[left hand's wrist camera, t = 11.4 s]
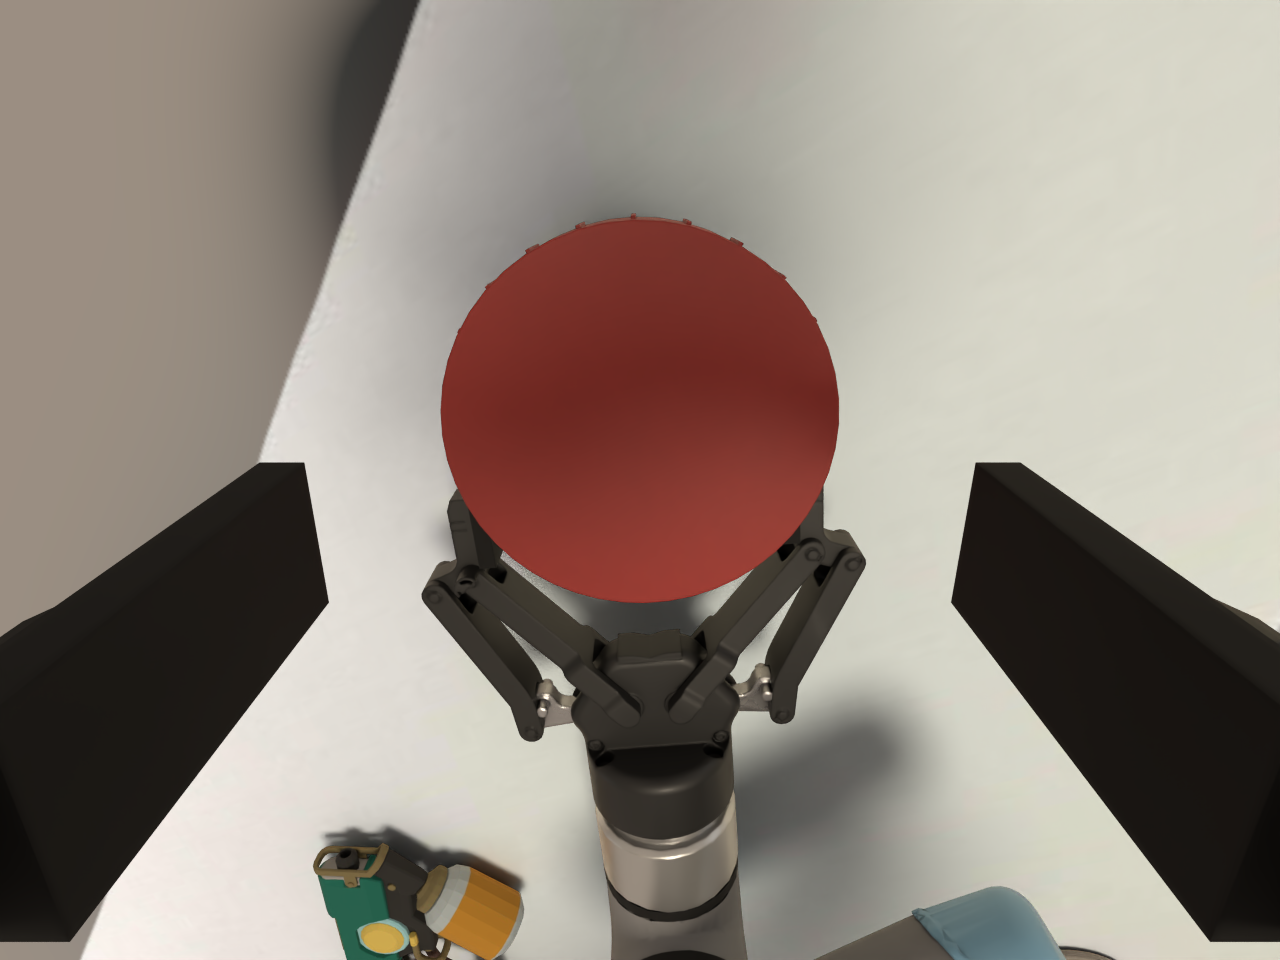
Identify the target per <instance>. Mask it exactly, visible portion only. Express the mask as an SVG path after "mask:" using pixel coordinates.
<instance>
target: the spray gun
mask: <svg viewBox="0 0 1280 960" xmlns="http://www.w3.org/2000/svg"><path fill="white" fill-rule="evenodd" d="M388 849H389V846H388V845H386V844H384V843H382V844H381V845H380V846H379V847H378V848H375V847H351V846H328V847H325V848H324V849H322V850H321V851H320V852H319V853H318V855H317V857H316V859H315V861H314V864H313V868H314V871H315V873H316V874H317V875H318V878H319V882H320V886H321V889H322V893H323V897H324V901H325V905H326V908H327V911H328V913H329V915H330V916H331V917H332V918H335V920H336V924H337V928H338V931H339V935H340V939H341V942H342V946H343V949H344V951H345V955H346V958H347V960H404V959H403V958H402V956H405V955H407V954H410V953H412V952H413V953H414V956H415V958H416V960H452V959H449V958H448V957H447V955H448V952H449V950H450V946H451V941H452V942H454V943H455V944H457V945H459V946H461V947H463V948H465V949H467V950H469V951H471V952H472V953H474V954H476V955H478V956H480V957H482V958H484V959H486V960H493V959H495V958H496V957H498V956H500V955H501V954H503V953H504V952H505V951H506V950H507V949H508V948H509V946H510V945H511V943H512V942H513V940H514V938H515V936H516V934H517V932H518V930H519V927H520V925H521V922H522V919H523V914H524V906H523V901H522V897H521V894H520V893H519V892H518V891H516V890H514V889H512V888H510V887H509V886H507V885H505V884H503V883H501V882H499V881H497V880H495V879H493V878H491V877H489V876H487V875H485V874H483V873H481V872H479V871H477V870H475V869H473V868H471V867H469V866H463V865H458V864H456V865H454V866H452V867H450V868H446V867H444V866H442V865H438V866H437V867H436V868H434V869H433V870H432V871H430V872H428V873H427V872H426V871H425V870H424V869H422V868H421V867H419V866H417V865H416V864H414V863H412V862H411V861H409V860H408V859H406V858H404V857H403V856H401V855H399V854H398V853H396V852H394V851H393V850H391V849H389V850H388ZM329 853H339V854H338V855H337V856H336V857H332V858H330V859H328V860H327V861H325V862H324V863H323V864H322V865H321V866H320V867H319V865H320V863H321V861H322V859H323V858H324V856H325V855H327V854H329ZM367 854H378V855H377V857H376V856H375V855H370V856H369V858H368V859H367ZM416 893H417V896H416ZM438 938H444V939H445V942H444V946H443V949H442V952H441V953H440V952H439V951H438V949H437V948H436V945H437V942H438ZM420 950H424V951H426V953H427V955H428V956H425V955H423V954H422V953H421V951H420Z"/></svg>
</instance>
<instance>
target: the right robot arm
mask: <svg viewBox="0 0 1280 960" xmlns="http://www.w3.org/2000/svg"><path fill="white" fill-rule="evenodd" d="M447 514H448V519H449V523H450V529H451V534H452V539H453V544H454V548H455V553H456V559H455V560H453V561H451V562H450V561H443V562H440V563H439V564H438V565H437V566H436V568H435V570H434V571H433V573H432V575H431V577H430V579H429V581H428V582H427V584H426V586H425V588H424V590H423V592H422V600H423V602H424V603H425V604H426V606H427V607H428V608H429V609H430V610H431V612H432V613H433V614H434V615H435V616H436V618H437V619H438V620H439V621H440V623H441V624H442V625H443V626H444V627H445V629H446V630H447V631H448V632H449V633H450V635H451V636H452V637H453V638H454V639H455V641H456V642H457V643H458V644H459V645H460V647H461V648H462V649H463V650H464V651H465V653H466V654H467V655H468V656H469V657H470V659H471V660H472V661H473V662H474V663H475V665H476V666H477V667H478V668H479V670H480V671H481V672H482V673H483V674H484V676H485V677H486V678H487V679H488V680H489V682H490V683H491V684H492V685H493V686H494V688H495V689H496V690H497V691H498V692H499V694H500V695H501V696H502V697H503V698H504V700H505V701H506V702H507V703H508V704H509V706H510V707H511V710H512V713H513V716H514V719H515V722H516V725H517V728H518V731H519V734H520V736H521V737H522V738H523V739H524V740H526V741H529V742H534V741H537V740H539V739H540V738H542V735H543V732H544V728H545V727H550V726H556V725H562V724H568V723H574V724H575V725H576V726H577V727H578V728H579V730H580V731H581V732H582V734H583V736H584V738H585V742H586V749H587V755H588V762H589V769H590V776H591V783H592V789H593V796H594V800H595V803H596V809H595V812H596V818H597V824H598V830H599V836H600V843H601V849H602V855H603V861H604V869H605V874H606V879H607V885H608V894H609V904H610V913H611V926H612V949H611V960H748V959H747V951H746V944H745V937H744V930H743V921H742V911H741V899H740V888H739V877H738V838H737V823H736V807H735V794H734V791H733V789H734V773H733V755H732V737H731V725H732V722H733V719H734V718H735V716H736V714H737V713H738V711H769V713H770V717H771V719H772V720H773V721H774V722H775V723H778V724H786V723H788V722H790V721H791V720H792V719H793V718H794V715H795V707H796V699H797V691H798V685H799V684H800V682H801V680H802V678H803V677H804V675H805V673H806V671H807V669H808V668H809V666H810V664H811V662H812V661H813V659H814V657H815V655H816V654H817V652H818V650H819V648H820V646H821V645H822V643H823V641H824V639H825V638H826V636H827V634H828V632H829V630H830V629H831V627H832V625H833V623H834V622H835V620H836V618H837V616H838V615H839V613H840V611H841V609H842V607H843V606H844V604H845V602H846V600H847V599H848V597H849V595H850V593H851V591H852V590H853V588H854V586H855V584H856V583H857V581H858V579H859V577H860V576H861V574H862V572H863V570H864V568H865V565H866V560H865V558H864V556H863V555H862V553H861V551H860V550H859V548H858V546H857V545H856V543H855V541H854V540H853V538H852V537H851V535H850V534H849V532H847V531H846V530H841V529H839V530H835V531H831V530H827V529H825V528H823V487H822V490H821V492H820V494H819V496H818V498H817V500H816V501H815V503H814V505H813V506H812V508H811V510H810V512H809V513H808V515H807V516H806V518H805V519H804V520H803V522H802V523H801V524H800V526H799V527H798V528H797V529H796V531H795V532H794V533H793V535H792V536H791V537H790V538H789V539H788V540H787V541H786V542H785V543H784V544H783V545H782V546H781V547H780V548H779V549H778V550H777V551H776V552H775V553H773V554H772V555H771V556H770V557H768V558H767V559H766V560H764V561H763V562H762V563H761V564H759V565H758V566H757V567H755V568H754V570H753V571H752V572H751V573H750V574H749V575H748V577H747V578H746V579H745V580H744V581H743V582H742V584H741V585H740V586H739V587H738V588H737V589H736V591H735V592H734V593H733V594H732V595H731V596H730V598H729V599H728V600H727V601H726V602H725V603H724V605H723V606H722V607H721V608H720V609H719V611H718V612H717V613H716V614H715V615H714V616H709V617H707V618H706V619H705V621H704V622H703V623H702V624H701V625H700V626H699V628H698V629H697V630H696V631H695V632H694V634H693V635H692V636H691V637H690V636H688V635H685V634H680V629H673V630H664V631H660V632H657V633H654V634H651V635H646V634H639V633H622V634H618V639H615V640H613V641H611V642H608V641H607V640H606V639H605V638H603V637H602V636H601V635H600V634H599V633H597V632H596V631H595V630H594V629H593V628H591V627H590V626H587V625H585V626H582V625H581V624H579V623H578V622H577V621H576V620H575V619H573V618H572V617H571V616H570V615H568V614H567V613H566V612H565V611H564V610H562V609H561V608H560V607H559V606H558V605H556V604H555V603H554V602H553V601H551V600H550V599H549V598H548V597H547V596H545V595H544V594H543V593H542V592H541V591H539V590H538V589H537V588H536V587H534V586H533V585H532V584H531V583H530V582H528V581H527V580H526V579H525V578H524V577H522V576H521V575H520V574H519V573H518V572H516V571H515V570H514V569H513V568H511V567H510V566H509V565H508V564H507V563H505V562H504V561H503V560H502V559H501V558H500V557H501V554H502V551H503V550H502V549H501V548H500V547H499V546H498V545H497V544H496V543H495V542H494V541H493V540H492V539H491V538H490V536H489V535H488V534H487V533H486V532H485V531H484V530H483V528H482V527H481V526H480V525H479V523H478V522H477V520H476V519H475V517H474V516H473V514H472V513H471V511H470V510H469V508H468V507H467V505H466V504H465V502H464V500H463V498H462V496H461V494H460V492H459V490H458V489H457V490H456V491H455V493H454V495H453V496H452V498H451V499H450V501H449V505H448V510H447ZM801 585H802V586H801ZM800 586H801V588H800V590H799V592H798V593H797V595H796V597H795V599H794V601H793V603H792V605H791V607H790V608H789V610H788V612H787V614H786V616H785V618H784V620H783V622H782V623H781V625H780V627H779V629H778V631H777V633H776V635H775V636H774V638H773V640H772V642H771V644H770V646H769V649H768V652H767V655H766V659H765V664H763V663H758V664H757V665H756V666H755V669H754V670H753V672H752V674H751V676H750V678H749V679H748V680H747V681H746V682H743V683H738V684H736V682H735V680H734V678H733V677H732V676H731V675H730V673H731V672H732V670H733V669H734V668H735V666H736V664H737V660H738V657H739V655H740V654H741V653H742V651H743V650H744V649H745V648H746V647H747V646H748V645H749V644H750V642H751V641H752V640H753V639H754V638H755V637H756V636H757V635H758V633H759V632H760V631H761V630H762V629H763V628H764V627H765V626H766V624H767V623H768V622H769V621H770V620H771V619H772V618H773V617H774V615H775V614H776V613H777V612H778V611H779V610H780V609H781V608H782V606H783V605H784V604H785V603H786V602H787V601H788V600H789V599H790V597H791V596H792V595H793V594H794V593H795V592H796V591H797V590H798V588H799V587H800ZM500 620H501V621H502V622H503V623H505V624H506V625H507V626H508V627H510V628H511V629H512V630H513V631H515V632H516V633H517V634H518V635H520V636H521V637H522V638H523V639H525V640H526V641H527V642H528V643H530V644H531V645H532V646H533V647H535V648H536V649H537V650H538V651H540V652H541V653H542V654H544V655H545V656H546V657H547V658H549V659H550V660H551V661H552V662H554V663H555V664H556V665H557V666H559V667H560V668H561V669H562V671H563V673H564V676H565V678H566V679H567V680H568V681H569V682H570V683H571V684H572V685H573V686H575V687H576V689H575V690H574V693H573V695H571V696H567V695H563V694H561V693H560V692H559V691H558V690H557V688H556V687H555V686H554V685H553V681H552V680H550V679H544V680H542V677H541V674H540V672H539V670H538V668H537V667H536V665H535V664H534V662H533V661H532V660H531V658H530V657H529V656H528V655H527V653H526V652H525V651H524V649H523V648H522V647H521V646H520V644H519V643H518V642H517V641H516V639H515V638H514V637H513V636H512V634H511V633H510V632H509V631H508V629H507V628H506V627H505V626H504V624H503V623H502V622H501V621H500ZM912 914H913V915H912V916H909V917H907V918H905V919H903V920H901V921H898V922H896V923H894V924H892V925H890V926H887V927H885V928H883V929H881V930H879V931H876V932H874V933H872V934H870V935H867V936H865V937H863V938H861V939H859V940H856V941H854V942H852V943H850V944H848V945H845V946H843V947H841V948H839V949H837V950H834V951H832V952H830V953H828V954H826V955H823V956H821V957H819V958H817V959H814V960H1111V959H1109V958H1107V957H1104V956H1101V955H1098V954H1094V953H1090V952H1084V951H1077V950H1060V948H1059V947H1058V945H1057V943H1056V942H1055V940H1054V938H1053V937H1052V935H1051V933H1050V932H1049V930H1048V928H1047V927H1046V925H1045V923H1044V922H1043V920H1042V919H1041V917H1040V915H1039V914H1038V912H1037V911H1036V909H1035V908H1034V907H1033V906H1032V904H1031V903H1030V902H1029V901H1028V900H1027V899H1026V898H1025V897H1024V896H1022V895H1021V894H1020V893H1018V892H1016V891H1015V890H1012V889H1010V888H1007V887H1002V886H998V887H989V888H986V889H983V890H980V891H977V892H974V893H971V894H968V895H965V896H962V897H959V898H956V899H953V900H950V901H947V902H944V903H941V904H938V905H935V906H932V907H929V908H926V909H920V908H918V909H916V910H913V911H912Z"/></svg>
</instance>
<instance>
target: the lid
mask: <svg viewBox="0 0 1280 960" xmlns="http://www.w3.org/2000/svg"><path fill="white" fill-rule="evenodd" d="M691 223H692V222H691V221H689V220H687V219H683V222H681V221H675V220H670V219H664V218H654V217H636V213H634V214H631V217H627V218H617V219H608V220H604V221H600V222H596V223H592V224H588V225H585V222H582V223H580V224H578V225H576V226H575V227H576V229H574V230H571V231H569V232H566V233H564V234H561V235H559V236H557V237H555V238H553V239H551V240H549V241H548V242H546V243H544V244H542V245H541V246H539V244H537V245H534V246H532V247H530V248H528V249H527V250H525V251H526V253H527V254H525V255H524V256H523V257H521V258H520V259H519V260H517V261H516V262H515V263H514V264H512V265H511V266H510V267H508V268H507V269H506V270H505V271H503V273H502V274H501V275H500V276H499V277H498V278H497V279H496V280H494V281H493V282H491V283H489V284H487V286H486V287H485V288H486V290H485V291H484V293H483V294H482V295H481V297H480V298H479V300H478V301H477V302H476V304H475V305H474V306H473V308H472V309H471V310H470V312H469V314H468V315H467V317H466V319H465V321H464V323H463V325H462V327H461V328H460V329H459V330H458V332H457V333H458V334H457V336H456V339H455V342H454V345H453V347H452V350H451V353H450V356H449V358H448V362H447V366H446V371H445V376H444V380H443V385H442V399H441V424H442V437H443V442H444V447H445V452H446V456H447V461H448V464H449V467H450V469H451V472H452V475H453V478H454V481H455V484H456V486H457V488H458V490H459V492H460V494H461V496H462V498H463V500H464V502H465V504H466V505H467V507H468V508H469V510H470V511H471V513H472V514H473V516H474V517H475V519H476V520H477V522H478V523H479V525H480V526H481V527H482V528H483V530H484V531H485V532H486V533H487V534H488V535H489V536H490V538H491V539H492V540H493V541H494V542H495V543H496V544H497V545H498V546H499V547H500V548H501V549H502V550H504V551H505V552H506V553H507V554H508V555H509V556H510V557H511V558H512V559H514V560H515V561H517V562H518V563H519V564H521V565H522V566H524V567H525V568H527V569H528V570H529V571H531V572H532V573H534V574H536V575H538V576H540V577H541V578H543V579H545V580H547V581H549V582H551V583H553V584H555V585H557V586H560V587H562V588H565V589H567V590H570V591H573V592H575V593H579V594H582V595H586V596H590V597H594V598H597V599H603V600H610V601H617V602H632V603H650V602H662V601H671V600H676V599H681V598H686V597H691V596H695V595H698V594H701V593H704V592H707V591H710V590H713V589H716V588H718V587H720V586H722V585H725V584H727V583H729V582H731V581H733V580H735V579H737V578H739V577H741V576H742V575H744V574H745V573H747V572H749V571H750V570H752V569H754V568H755V567H757V566H758V565H759V564H761V563H762V562H763V561H764V560H766V559H767V558H768V557H770V556H771V555H772V554H773V553H775V552H776V551H777V550H778V549H779V548H780V547H781V546H782V545H783V544H784V543H785V542H786V541H787V540H788V539H789V538H790V537H791V536H792V535H793V533H794V532H795V531H796V529H797V528H798V527H799V526H800V524H801V523H802V522H803V520H804V519H805V518H806V516H807V515H808V513H809V512H810V510H811V508H812V506H813V505H814V503H815V501H816V500H817V498H818V496H819V494H820V492H821V490H822V487H823V485H824V483H825V480H826V478H827V476H828V473H829V470H830V467H831V463H832V459H833V456H834V452H835V448H836V441H837V434H838V427H839V396H838V389H837V381H836V374H835V370H834V367H833V363H832V360H831V356H830V352H829V349H828V347H827V344H826V342H825V340H824V337H823V335H822V333H821V331H820V328H819V326H818V324H817V320H816V318H815V317H813V316H812V314H811V313H810V311H809V310H808V308H807V306H806V305H805V303H804V302H803V300H802V299H801V298H800V297H799V296H798V294H797V293H796V292H795V291H794V290H793V288H792V287H791V286H790V285H789V284H788V282H787V281H786V280H785V279H786V277H785V276H784V275H783V274H781V273H779V272H778V271H776V270H774V269H772V268H771V267H770V266H769V265H768V264H767V263H766V262H764V261H763V260H761V259H760V258H758V257H757V256H755V255H754V254H753V253H751V252H750V251H748V250H747V249H745V248H744V247H742V246H743V243H742V242H740V241H738V240H736V239H734V238H732V237H731V239H730V240H728V239H726V238H724V237H722V236H720V235H718V234H716V233H714V232H712V231H710V230H707V229H704V228H701V227H698V226H695V225H692V224H691Z"/></svg>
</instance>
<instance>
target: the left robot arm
mask: <svg viewBox="0 0 1280 960" xmlns="http://www.w3.org/2000/svg"><path fill="white" fill-rule="evenodd" d="M328 603H329V601H328V595H327V589H326V583H325V578H324V572H323V566H322V561H321V555H320V549H319V544H318V538H317V532H316V527H315V521H314V515H313V509H312V504H311V498H310V492H309V487H308V481H307V475H306V470H305V464H304V463H258V464H257V465H256V466H254V467H253V468H251V469H250V470H248V471H247V472H246V473H244V474H243V475H241V476H240V477H239V478H237V479H236V480H234V481H233V482H231V483H230V484H229V485H227V486H226V487H224V488H223V489H221V490H220V491H219V492H217V493H216V494H214V495H213V496H211V497H210V498H209V499H207V500H206V501H204V502H203V503H202V504H200V505H199V506H197V507H196V508H194V509H193V510H192V511H190V512H189V513H187V514H186V515H185V516H183V517H182V518H180V519H179V520H178V521H176V522H175V523H173V524H172V525H170V526H169V527H167V528H166V529H165V530H163V531H162V532H160V533H159V534H158V535H156V536H155V537H153V538H152V539H150V540H149V541H148V542H146V543H145V544H143V545H142V546H140V547H139V548H138V549H136V550H135V551H133V552H132V553H131V554H129V555H128V556H126V557H125V558H123V559H122V560H121V561H119V562H118V563H116V564H115V565H114V566H112V567H111V568H109V569H108V570H106V571H105V572H104V573H102V574H101V575H99V576H98V577H96V578H95V579H94V580H92V581H91V582H89V583H88V584H86V585H85V586H84V587H82V588H81V589H79V590H78V591H77V592H75V593H74V594H72V595H71V596H69V597H68V598H67V599H65V600H64V601H62V602H61V603H60V604H58V605H57V606H55V607H53V608H51V609H49V610H47V611H45V612H43V613H40V614H38V615H36V616H34V617H32V618H29V619H27V620H25V621H23V622H21V623H20V624H18V625H17V626H16V627H14V628H13V629H11V630H10V631H8V632H7V633H5V634H4V635H3V636H1V637H0V942H70V941H71V940H72V938H73V937H74V936H75V934H76V933H77V932H78V930H79V929H80V928H81V927H82V925H83V924H84V923H85V921H86V920H87V919H88V917H89V916H90V915H91V913H92V912H93V911H94V910H95V908H96V907H97V906H98V904H99V903H100V902H101V900H102V899H103V898H104V896H105V895H106V894H107V892H108V891H109V890H110V889H111V887H112V886H113V885H114V883H115V882H116V881H117V879H118V878H119V877H120V875H121V874H122V873H123V872H124V870H125V869H126V868H127V866H128V865H129V864H130V862H131V861H132V860H133V858H134V857H135V856H136V854H137V853H138V852H139V851H140V849H141V848H142V847H143V845H144V844H145V843H146V841H147V840H148V839H149V837H150V836H151V835H152V834H153V832H154V831H155V830H156V828H157V827H158V826H159V824H160V823H161V822H162V820H163V819H164V818H165V816H166V815H167V814H168V813H169V811H170V810H171V809H172V807H173V806H174V805H175V803H176V802H177V801H178V799H179V798H180V797H181V796H182V794H183V793H184V792H185V790H186V789H187V788H188V786H189V785H190V784H191V782H192V781H193V780H194V779H195V777H196V776H197V775H198V773H199V772H200V771H201V769H202V768H203V767H204V765H205V764H206V763H207V761H208V760H209V759H210V758H211V756H212V755H213V754H214V752H215V751H216V750H217V748H218V747H219V746H220V744H221V743H222V742H223V741H224V739H225V738H226V737H227V735H228V734H229V733H230V731H231V730H232V729H233V727H234V726H235V725H236V723H237V722H238V721H239V720H240V718H241V717H242V716H243V714H244V713H245V712H246V710H247V709H248V708H249V706H250V705H251V704H252V703H253V701H254V700H255V699H256V697H257V696H258V695H259V693H260V692H261V691H262V689H263V688H264V687H265V685H266V684H267V683H268V682H269V680H270V679H271V678H272V676H273V675H274V674H275V672H276V671H277V670H278V668H279V667H280V666H281V665H282V663H283V662H284V661H285V659H286V658H287V657H288V655H289V654H290V653H291V651H292V650H293V649H294V647H295V646H296V645H297V644H298V642H299V641H300V640H301V638H302V637H303V636H304V634H305V633H306V632H307V630H308V629H309V628H310V627H311V625H312V624H313V623H314V621H315V620H316V619H317V617H318V616H319V615H320V613H321V612H322V611H323V609H324V608H325V607H326V606H327V604H328ZM951 603H952V604H953V606H954V607H955V608H956V609H957V611H958V612H959V613H960V615H961V616H962V617H963V619H964V620H965V621H966V623H967V624H968V625H969V627H970V628H971V629H972V630H973V632H974V633H975V634H976V636H977V637H978V638H979V640H980V641H981V642H982V644H983V645H984V646H985V647H986V649H987V650H988V651H989V653H990V654H991V655H992V657H993V658H994V659H995V661H996V662H997V663H998V665H999V666H1000V667H1001V668H1002V670H1003V671H1004V672H1005V674H1006V675H1007V676H1008V678H1009V679H1010V680H1011V682H1012V683H1013V684H1014V685H1015V687H1016V688H1017V689H1018V691H1019V692H1020V693H1021V695H1022V696H1023V697H1024V699H1025V700H1026V701H1027V703H1028V704H1029V705H1030V706H1031V708H1032V709H1033V710H1034V712H1035V713H1036V714H1037V716H1038V717H1039V718H1040V720H1041V721H1042V722H1043V723H1044V725H1045V726H1046V727H1047V729H1048V730H1049V731H1050V733H1051V734H1052V735H1053V737H1054V738H1055V739H1056V741H1057V742H1058V743H1059V744H1060V746H1061V747H1062V748H1063V750H1064V751H1065V752H1066V754H1067V755H1068V756H1069V758H1070V759H1071V760H1072V761H1073V763H1074V764H1075V765H1076V767H1077V768H1078V769H1079V771H1080V772H1081V773H1082V775H1083V776H1084V777H1085V779H1086V780H1087V781H1088V782H1089V784H1090V785H1091V786H1092V788H1093V789H1094V790H1095V792H1096V793H1097V794H1098V796H1099V797H1100V798H1101V799H1102V801H1103V802H1104V803H1105V805H1106V806H1107V807H1108V809H1109V810H1110V811H1111V813H1112V814H1113V815H1114V816H1115V818H1116V819H1117V820H1118V822H1119V823H1120V824H1121V826H1122V827H1123V828H1124V830H1125V831H1126V832H1127V834H1128V835H1129V836H1130V837H1131V839H1132V840H1133V841H1134V843H1135V844H1136V845H1137V847H1138V848H1139V849H1140V851H1141V852H1142V853H1143V854H1144V856H1145V857H1146V858H1147V860H1148V861H1149V862H1150V864H1151V865H1152V866H1153V868H1154V869H1155V870H1156V872H1157V873H1158V874H1159V875H1160V877H1161V878H1162V879H1163V881H1164V882H1165V883H1166V885H1167V886H1168V887H1169V889H1170V890H1171V891H1172V892H1173V894H1174V895H1175V896H1176V898H1177V899H1178V900H1179V902H1180V903H1181V904H1182V906H1183V907H1184V908H1185V910H1186V911H1187V912H1188V913H1189V915H1190V916H1191V917H1192V919H1193V920H1194V921H1195V923H1196V924H1197V925H1198V927H1199V928H1200V929H1201V930H1202V932H1203V933H1204V934H1205V936H1206V937H1207V938H1208V940H1209V941H1210V942H1280V633H1278V632H1277V631H1275V630H1274V629H1272V628H1271V627H1270V626H1268V625H1267V624H1265V623H1264V622H1262V621H1261V620H1259V619H1258V618H1256V617H1253V616H1251V615H1249V614H1247V613H1245V612H1242V611H1240V610H1238V609H1236V608H1233V607H1231V606H1229V605H1227V604H1225V603H1222V602H1220V601H1218V600H1216V599H1214V598H1212V597H1211V596H1209V595H1208V594H1206V593H1205V592H1203V591H1202V590H1201V589H1199V588H1198V587H1196V586H1195V585H1194V584H1192V583H1191V582H1189V581H1188V580H1186V579H1185V578H1184V577H1182V576H1181V575H1179V574H1178V573H1176V572H1175V571H1174V570H1172V569H1171V568H1169V567H1168V566H1167V565H1165V564H1164V563H1162V562H1161V561H1159V560H1158V559H1157V558H1155V557H1154V556H1152V555H1151V554H1149V553H1148V552H1147V551H1145V550H1144V549H1142V548H1141V547H1140V546H1138V545H1137V544H1135V543H1134V542H1132V541H1131V540H1130V539H1128V538H1127V537H1125V536H1124V535H1122V534H1121V533H1120V532H1118V531H1117V530H1115V529H1114V528H1113V527H1111V526H1110V525H1108V524H1107V523H1105V522H1104V521H1103V520H1101V519H1100V518H1098V517H1097V516H1095V515H1094V514H1093V513H1091V512H1090V511H1088V510H1087V509H1086V508H1084V507H1083V506H1081V505H1080V504H1078V503H1077V502H1076V501H1074V500H1073V499H1071V498H1070V497H1069V496H1067V495H1066V494H1064V493H1063V492H1061V491H1060V490H1059V489H1057V488H1056V487H1054V486H1053V485H1051V484H1050V483H1049V482H1047V481H1046V480H1044V479H1043V478H1042V477H1040V476H1039V475H1037V474H1036V473H1034V472H1033V471H1032V470H1030V469H1029V468H1027V467H1026V466H1024V465H1023V464H1022V463H976V464H975V470H974V475H973V481H972V487H971V492H970V498H969V504H968V509H967V515H966V521H965V527H964V532H963V538H962V544H961V549H960V555H959V561H958V566H957V572H956V578H955V583H954V589H953V595H952V601H951Z"/></svg>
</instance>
